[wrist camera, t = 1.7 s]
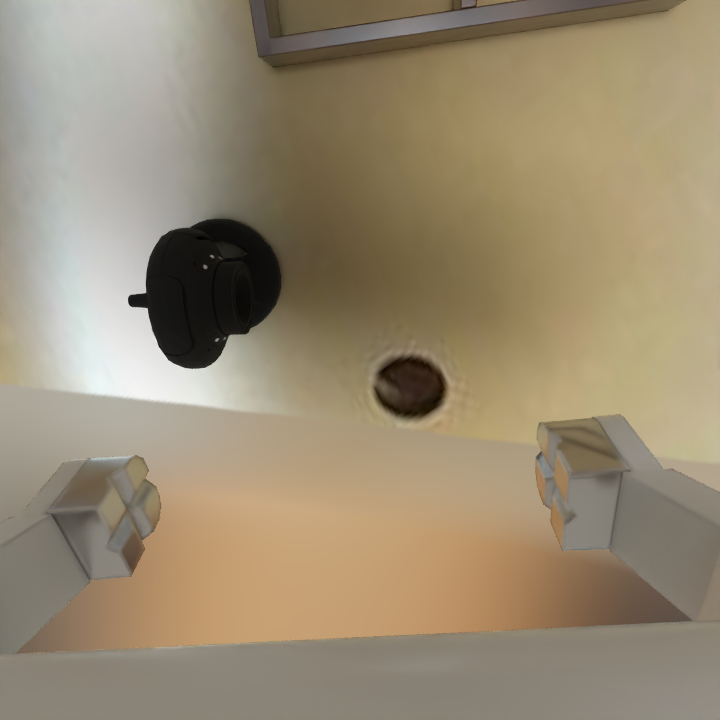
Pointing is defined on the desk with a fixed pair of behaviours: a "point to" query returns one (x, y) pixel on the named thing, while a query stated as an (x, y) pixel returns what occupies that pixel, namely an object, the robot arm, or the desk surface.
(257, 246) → the webcam
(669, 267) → the desk surface
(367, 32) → the tray
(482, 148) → the desk surface
